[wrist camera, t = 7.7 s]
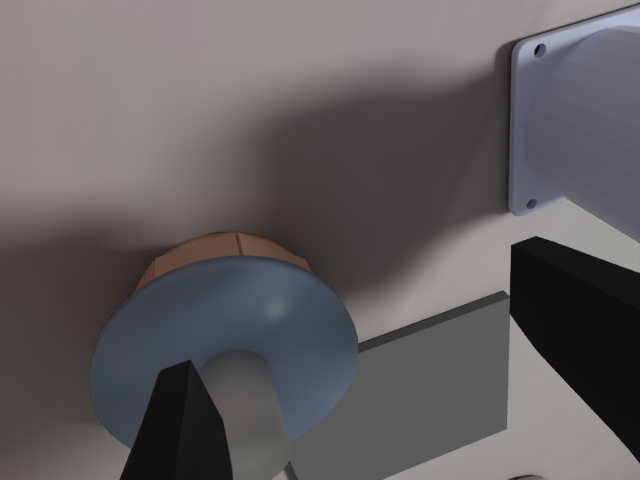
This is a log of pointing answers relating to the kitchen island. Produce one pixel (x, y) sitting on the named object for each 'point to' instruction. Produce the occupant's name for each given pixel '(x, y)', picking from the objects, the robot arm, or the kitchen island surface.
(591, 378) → the robot arm
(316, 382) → the lid
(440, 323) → the mat
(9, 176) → the kitchen island surface
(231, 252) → the bowl
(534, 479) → the supplement can
